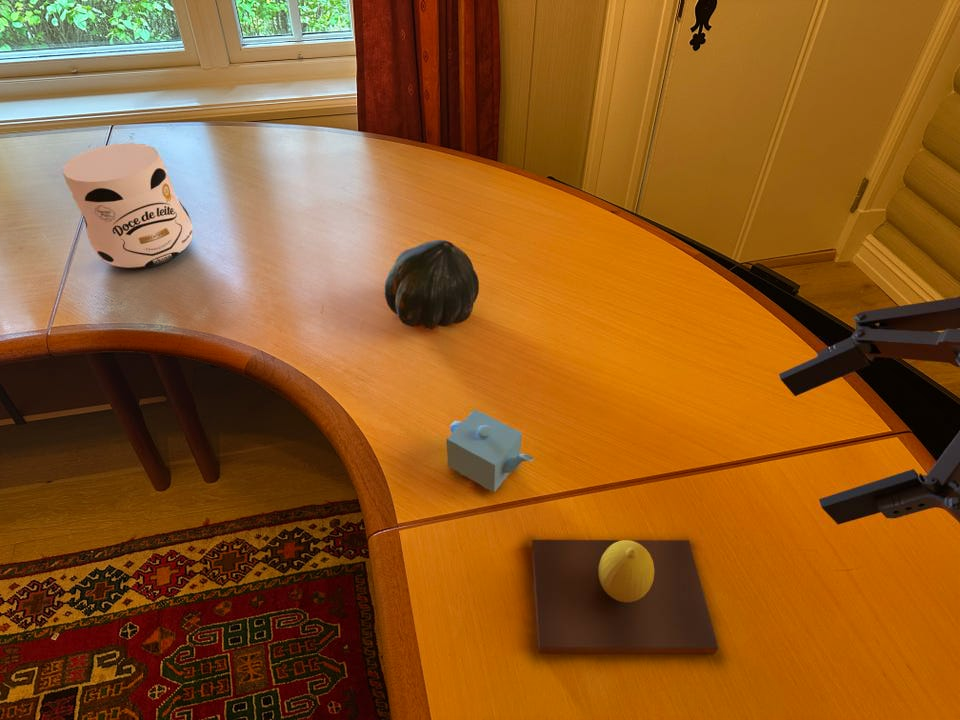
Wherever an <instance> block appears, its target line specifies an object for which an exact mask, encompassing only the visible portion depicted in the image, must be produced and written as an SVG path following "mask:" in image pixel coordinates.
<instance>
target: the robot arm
mask: <svg viewBox="0 0 960 720" xmlns="http://www.w3.org/2000/svg"><path fill="white" fill-rule="evenodd" d="M853 321H854V323H855V329H854V332H853V333H852V335H851V336H850V337H848V338H845V339H843V340H841V341H838V342H836V343H834V344H832V345H830V346H828V347H826V348H823V349H821V350H820V351H819V352H817V353H816V357H814V358H811V359H809V360H806V361H804V362H802V363H800V364H798V365H795V366H794V367H791V368H789V369H787V370H785V371H783V372H780V373H778V376H779V379H780V381H781V382H782V383H783V384H784V386H786V388H787V389H788V390H789V391H790V393H792V395H793V396H794V397H797V396H799V395H801V394H804V393H807V392H809V391H811V390H813V389H816V388H819V387H821V386H823V385H825V384H828V383H831V382H832V381H835V380H837V379H840V378H842V377H845V376H847V375H849V374H852V373H854V372H857V371H859V370H861V369H863V368H866V367H868V366H870V363H869V362H868V360H869V361H871V362H873V361H874V359H875V358H887V359H889V358H890V359H899V360H900V359H901V360H912V361H921V362H923V361H924V362H935V363H944V364H946V363H947V364H950V365H951V366H954V367H957V368H960V296H957V297H949V298H944V299H943V298H942V299H937V300H929V301H923V302H917V303H909V304H904V305H898V306H891V307H885V308H878V309H871V310H865V311H859V312H857V313H856V314H855V315H854V316H853ZM818 501H819V504H820V507H821V509H822V510H823V511H824V512H825V513H826V514H827V515H828V516H829V517H830V518H831V519H832V520H833V521H834V522H835V524H836V525H842V524H845V523H849V522H852V521H857V520H859V519H863V518H866V517H870V516H873V515H877V514H880V513H881V514H882V515H883V516H884V518H885V519H898V518H902V517H905V516H910V515H912V514H916V513H919V512H923V511H926V510H930V509H934V508H938V509H942V510H944V511H945V512H947V514H949V515H950V516H952V518H954V519H955V520H956V521H957V522H958V523H959V524H960V430H959V431H958V433H956V435H955V436H954V437H953V439H952V440H951V442H950V443H949V444H948V445H947V447H946V448H945V449H944V451H943V452H942V453H941V455H940V457H939V458H938V459H937V460H936V462H935V463H934V465H933V466H932V467H931V468H930V470H929V471H928V473H927V474H922V473H920V472H919V473H918V472H917V471H916V470H915V469H914V468H912V469H909V470H905V471H902V472H899V473H896V474H893V475H890V476H887V477H883V478H881V479H878V480H874V481H872V482H868V483H865V484H862V485H859V486H856V487H852V488H849V489H847V490H843V491H840V492H837V493H834V494H830V495H827V496H824V497H821V498H818Z"/></svg>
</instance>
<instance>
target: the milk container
mask: <svg viewBox="0 0 960 720" xmlns="http://www.w3.org/2000/svg"><path fill="white" fill-rule="evenodd" d="M62 174H63V177H64V180H65V182H66V185H67V186H68V188H69V191H70V193H71V195H72V198H73V200H74V202H75V204H76V205H77V208H78V209H79V211H80V213H81V215H82V217H83V219H84V223H85V230H86V235H87V239H88V241H89V243H90V245H91V247H92V249H93V250H94V252H95V253H96V255H97V256H98V257H99V258H100V259H101V260H102V261H103V262H104V263H106V264H108V265H110V266H113V267H114V268H120V269H128V270H135V269H136V270H137V269H147V268H151V267H155V266H160V265H162V264H165V263H167V262H169V261H172V260H174V259H175V258H176V257H178V256H179V255H181V254H182V253H184V252H185V251H186V250H187V248H188V247H189V246H190V245H191V243H192V240H193V236H194V229H193V225H192V220H191V217H190V215H189V212H188V210H187V209H186V208H185V206H184V205H183V203H182V202H181V201H180V200H179V198H178V196H177V194H176V192H175V189H174V186H173V183H172V181H171V178H170V174H169V173H168V171H167V167H166V164H165V163H164V160H163V159H162V157H161V155H160V153H159V152H158V150H157V149H156V148H155V147H153V146H151V145H148V144H144V143H137V142H125V143H123V142H122V143H114V144H108V145H107V144H106V145H103V146H98V147H95V148H91V149H88V150H86V151H85V150H84V151H83V152H81V153H79V154H77V155H75V156H73V157H72V158H70V159H69V160H68V161H67V162H65V164H64V166H63V168H62Z"/></svg>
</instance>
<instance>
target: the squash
mask: <svg viewBox="0 0 960 720" xmlns="http://www.w3.org/2000/svg"><path fill="white" fill-rule="evenodd" d="M478 277H479V276H478V274H477V272H476V271H475V269H474V265H473V263H472V260H471V259H470V257H469V256H468V254H467V253H466V252H465V251H463V249H461V248H459V247H458V246H456V245H454V243H452V242H451V241H448V240H445V239H436V240H435V239H434V240H430V241H426V242H423V243H420V244H418V245H416V246H414V247H411V248H408V249H405V250H404V251H402V252H400V254H399V255H398V256H397V257H396V259H395V261H394V264H393V265H392V267H391V268H390V269H389V272H388V274H387V277H386V279H385V281H384V298H385V301H386V304H387V307H388V308H389V309H390V311H392V312H393V313H394V314H395V315H397V317H398V319H399V321H400V322H401V323H402V324H403V325H406V326H408V327H410V328H411V327H412V328H416V327H420V326H423V327H424V328H425V329H428V330H434V329H436V328H437V327H438V326H439V327H448V326H450V325H452V324H460V323H463V322H465V321H467V320H468V319H469V318H470V316H471V314H472V312H473V309H474V306H475V305H474V304H475V302H476V301H477V298H478V295H479V292H480V281H479V278H478Z"/></svg>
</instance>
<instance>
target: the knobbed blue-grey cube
mask: <svg viewBox="0 0 960 720" xmlns="http://www.w3.org/2000/svg"><path fill="white" fill-rule="evenodd" d="M449 431H450V432H451V433H450V435H449V436H448V437H447V438H446V439H445V440H446V454H447V455H446V456H447V467H449V468H450V469H452V470H454V471H456V472H457V473H459V475H462V476H464V477H466V478H468V479H470V480H471V481H472V482H475V483H477V484H479V485H480V486H482V487H483V488H484V489H485V490H489V491H490V492H492V493H496V491H497V490H498V489H499V488H500V486H502V484H503V483H504V481H505V480H506V478H507V477H508V476H510V474H511V473H514V472H515V471H517V470H518V469H519V468H520V466H521V465H522V463H523V462H533V461H534V458H533V457H532V456H531V455H529V454H527V453H521V452H522V440H523V439H522V438H523V432H522V431H519V430H518V429H515V428H513V427H511V426H510V425H508V424H506V423H504V422H502V421H501V420H498V419H496V418H494V417H492V416H490V415H488V414H487V413H484V412H482V411H480V410H478V409H476V408H474V409H472V410H471V412H470V413H469V414H468V415H467V416H466V417H465V418H464V419H463V421H462V420H455V421H453V422H452V423H451V424H450V426H449Z"/></svg>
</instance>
